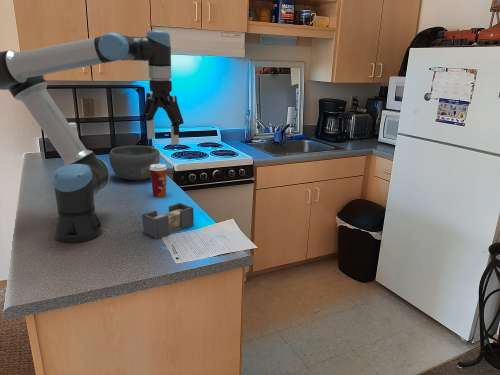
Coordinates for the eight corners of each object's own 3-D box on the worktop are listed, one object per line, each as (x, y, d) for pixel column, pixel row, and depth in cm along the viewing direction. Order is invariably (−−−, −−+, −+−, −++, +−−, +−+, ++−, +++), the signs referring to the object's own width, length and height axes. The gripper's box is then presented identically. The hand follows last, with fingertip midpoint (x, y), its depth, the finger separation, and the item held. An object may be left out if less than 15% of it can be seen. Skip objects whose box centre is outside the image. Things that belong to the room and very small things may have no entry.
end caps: (156, 239, 131) (155, 220, 129) (143, 232, 135) (142, 214, 133) (193, 224, 143) (193, 207, 141) (180, 219, 148) (180, 202, 146)
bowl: (168, 180, 195) (167, 151, 191) (121, 188, 181) (118, 157, 177) (149, 169, 214) (147, 143, 209) (104, 175, 200) (102, 147, 195)
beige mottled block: (158, 234, 133) (157, 221, 132) (151, 231, 136) (150, 218, 134) (187, 224, 143) (186, 211, 141) (180, 221, 145) (179, 208, 144)
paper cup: (164, 199, 169) (162, 168, 165) (147, 197, 171) (146, 166, 166) (171, 193, 176) (170, 164, 172) (155, 191, 178) (154, 162, 174)
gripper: (193, 81, 126) (194, 145, 132) (147, 77, 141) (150, 135, 147) (175, 81, 120) (177, 148, 127) (129, 77, 135) (133, 137, 142)
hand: (162, 141), depth 137 cm, fingers open, 13 cm apart
